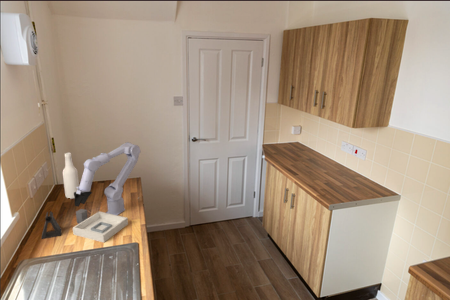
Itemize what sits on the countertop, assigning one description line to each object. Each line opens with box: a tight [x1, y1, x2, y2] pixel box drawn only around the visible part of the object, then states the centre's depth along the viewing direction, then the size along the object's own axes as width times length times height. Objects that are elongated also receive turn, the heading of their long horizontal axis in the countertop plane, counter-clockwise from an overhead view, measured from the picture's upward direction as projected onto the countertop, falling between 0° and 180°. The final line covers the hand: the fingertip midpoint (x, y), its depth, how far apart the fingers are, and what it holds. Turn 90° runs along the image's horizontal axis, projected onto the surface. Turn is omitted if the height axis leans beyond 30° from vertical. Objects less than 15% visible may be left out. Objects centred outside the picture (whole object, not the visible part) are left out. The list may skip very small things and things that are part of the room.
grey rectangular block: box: [75, 208, 89, 224], centre depth 172 cm, size 4×4×7 cm
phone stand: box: [40, 211, 62, 240], centre depth 159 cm, size 9×6×12 cm, turn 115°
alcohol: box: [62, 152, 80, 200], centre depth 201 cm, size 9×9×30 cm
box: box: [72, 211, 129, 243], centre depth 166 cm, size 20×20×4 cm
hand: (79, 204), depth 168 cm, fingers open, 7 cm apart
